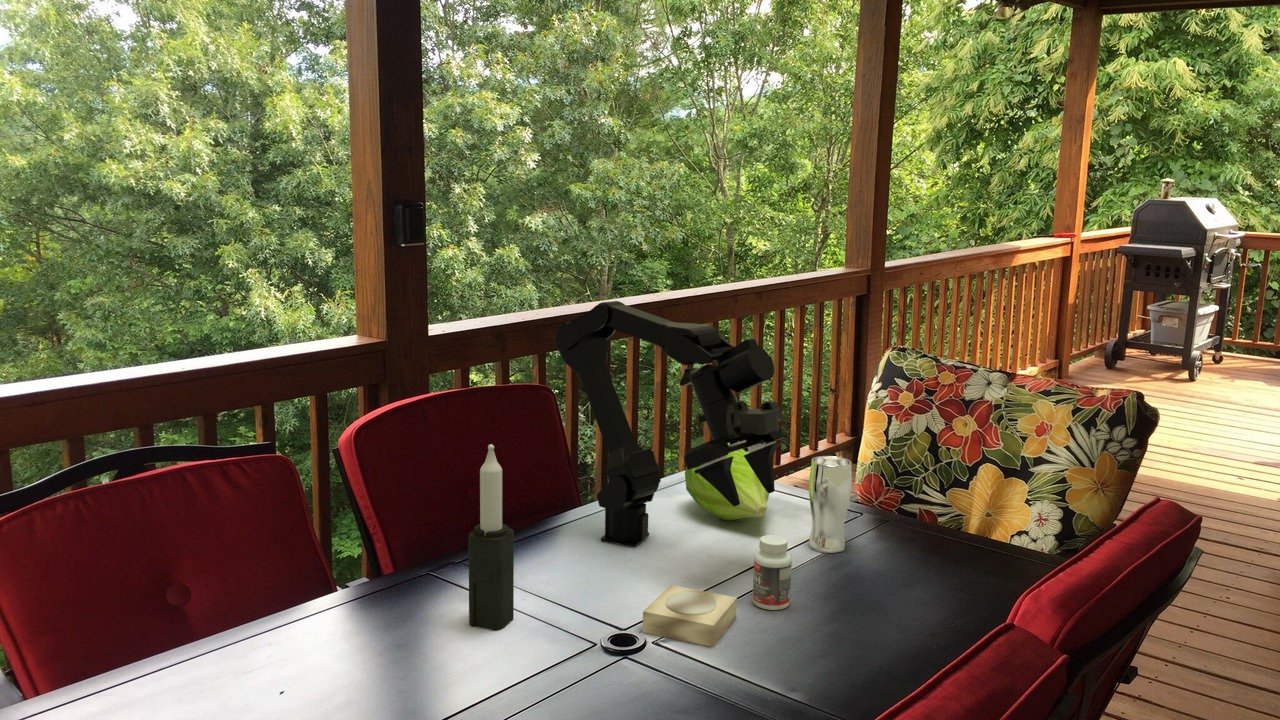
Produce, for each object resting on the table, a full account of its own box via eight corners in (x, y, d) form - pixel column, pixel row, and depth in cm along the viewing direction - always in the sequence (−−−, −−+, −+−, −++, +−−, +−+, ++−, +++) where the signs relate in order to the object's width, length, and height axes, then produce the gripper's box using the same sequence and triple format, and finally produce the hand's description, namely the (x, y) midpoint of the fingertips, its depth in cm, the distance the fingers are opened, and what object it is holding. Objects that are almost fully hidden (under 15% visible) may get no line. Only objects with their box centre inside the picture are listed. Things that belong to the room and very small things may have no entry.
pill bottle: (744, 603, 144) (747, 539, 143) (765, 593, 149) (768, 530, 147) (776, 614, 141) (779, 548, 139) (796, 603, 145) (799, 539, 143)
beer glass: (845, 540, 172) (850, 456, 169) (849, 555, 165) (855, 467, 162) (804, 538, 172) (809, 454, 170) (807, 553, 165) (811, 465, 163)
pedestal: (642, 632, 134) (643, 609, 134) (669, 604, 144) (670, 583, 143) (712, 646, 131) (713, 623, 130) (736, 617, 140) (737, 595, 139)
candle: (516, 616, 138) (516, 441, 134) (499, 631, 134) (499, 450, 129) (483, 611, 140) (483, 438, 136) (465, 625, 135) (464, 446, 131)
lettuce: (799, 543, 177) (720, 562, 172) (745, 481, 196) (673, 497, 192) (802, 471, 171) (721, 489, 166) (746, 415, 190) (671, 430, 186)
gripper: (720, 393, 141) (759, 497, 139) (791, 377, 155) (828, 471, 153) (666, 418, 149) (702, 518, 146) (739, 400, 163) (773, 491, 160)
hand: (754, 498), depth 151 cm, fingers open, 9 cm apart
